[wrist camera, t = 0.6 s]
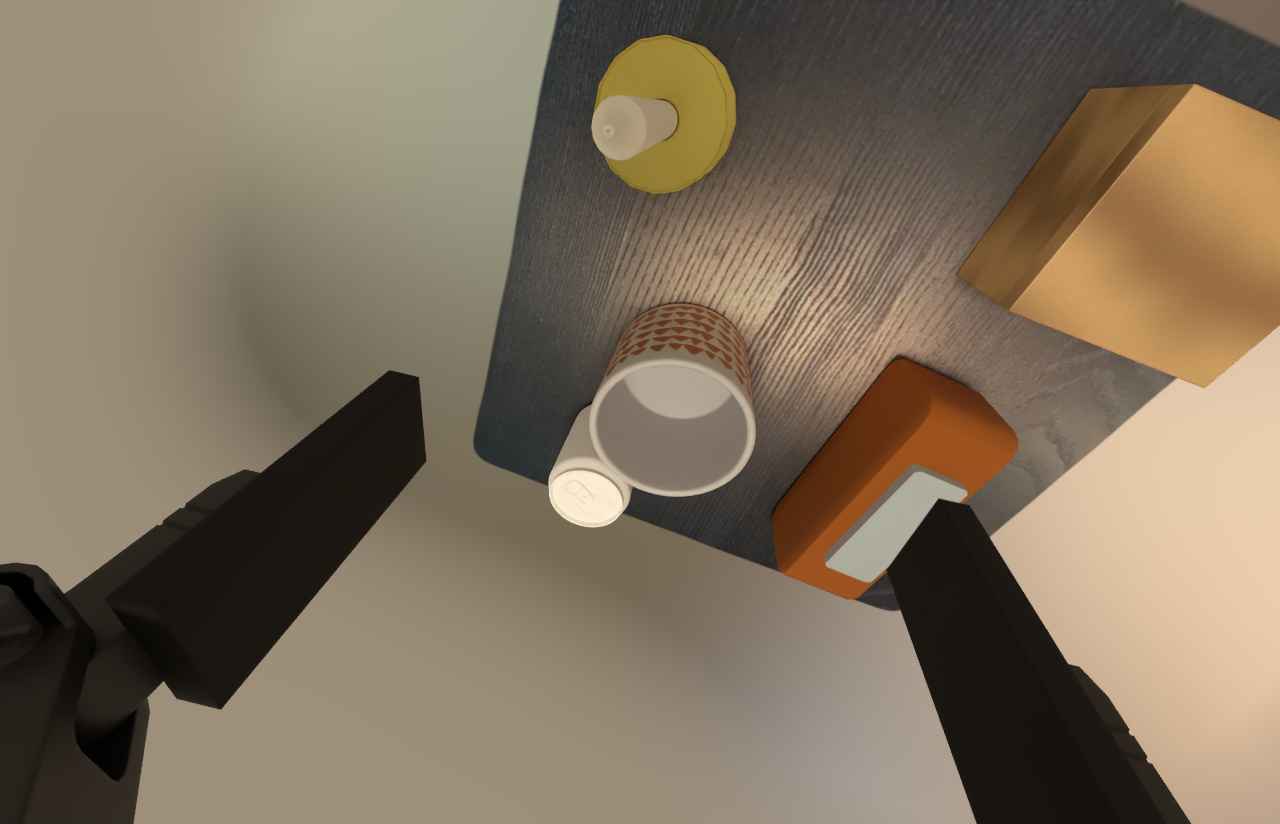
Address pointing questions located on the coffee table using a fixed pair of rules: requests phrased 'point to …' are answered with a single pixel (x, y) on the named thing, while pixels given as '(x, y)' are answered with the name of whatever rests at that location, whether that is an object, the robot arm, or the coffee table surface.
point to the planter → (676, 403)
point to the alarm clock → (887, 477)
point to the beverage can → (586, 481)
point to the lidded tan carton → (1147, 230)
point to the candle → (664, 114)
